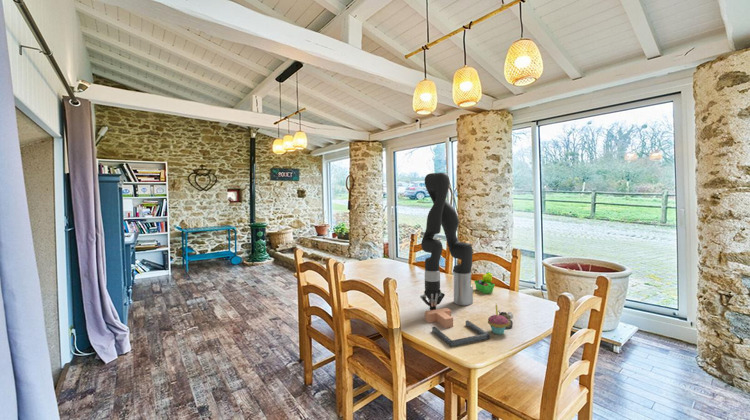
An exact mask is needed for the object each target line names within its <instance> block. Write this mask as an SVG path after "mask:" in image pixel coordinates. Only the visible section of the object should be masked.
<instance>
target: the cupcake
mask: <svg viewBox="0 0 750 420" xmlns="http://www.w3.org/2000/svg"><path fill="white" fill-rule="evenodd" d="M498 311H499V309H498V304H497V303H495V314H493V315H490V316H489V317H488V320H487V324H489V326H490V329H491V331H492V332H493V334H496V335H503V334H504V333H505V330H506V329H505V328H506V327H507V326H508V325H509V321H508V319H506V318H505V317H504V316H501V315H499V312H498Z"/></svg>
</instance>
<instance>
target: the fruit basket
mask: <svg viewBox="0 0 750 420" xmlns="http://www.w3.org/2000/svg"><path fill="white" fill-rule="evenodd" d="M492 281H493V274H492V272H489V271H487V272H486V273H485V274H483V275H482V279H480V280H474V281H473V282H474V284H475V288H476V290H477V291H479V292H481V293H483V294H485V293H486V294H492V293H493V292H494V288H495V286H496V285H495V283H492Z"/></svg>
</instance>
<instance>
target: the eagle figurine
mask: <svg viewBox="0 0 750 420" xmlns="http://www.w3.org/2000/svg"><path fill="white" fill-rule="evenodd" d="M498 315H501V316H504V317H505V318H506V319H508V321H509V325H508V326H507V327H506V328H505V330H510V329H512V328H513V324H514V323H513V319H514V313H512V312H510V311H508V312H507V311H500V310H498Z"/></svg>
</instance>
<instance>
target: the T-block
mask: <svg viewBox="0 0 750 420" xmlns="http://www.w3.org/2000/svg"><path fill="white" fill-rule="evenodd" d="M424 320H426V322H428V323H434V322H437V323H438V324H440V325H441V326H442V327H444V328H445V329H446V328H452V327H454V317H453V316H452V310H451V309H449V308H448V307H443V308H436V310H430V309H429V310H426V311H424Z"/></svg>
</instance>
